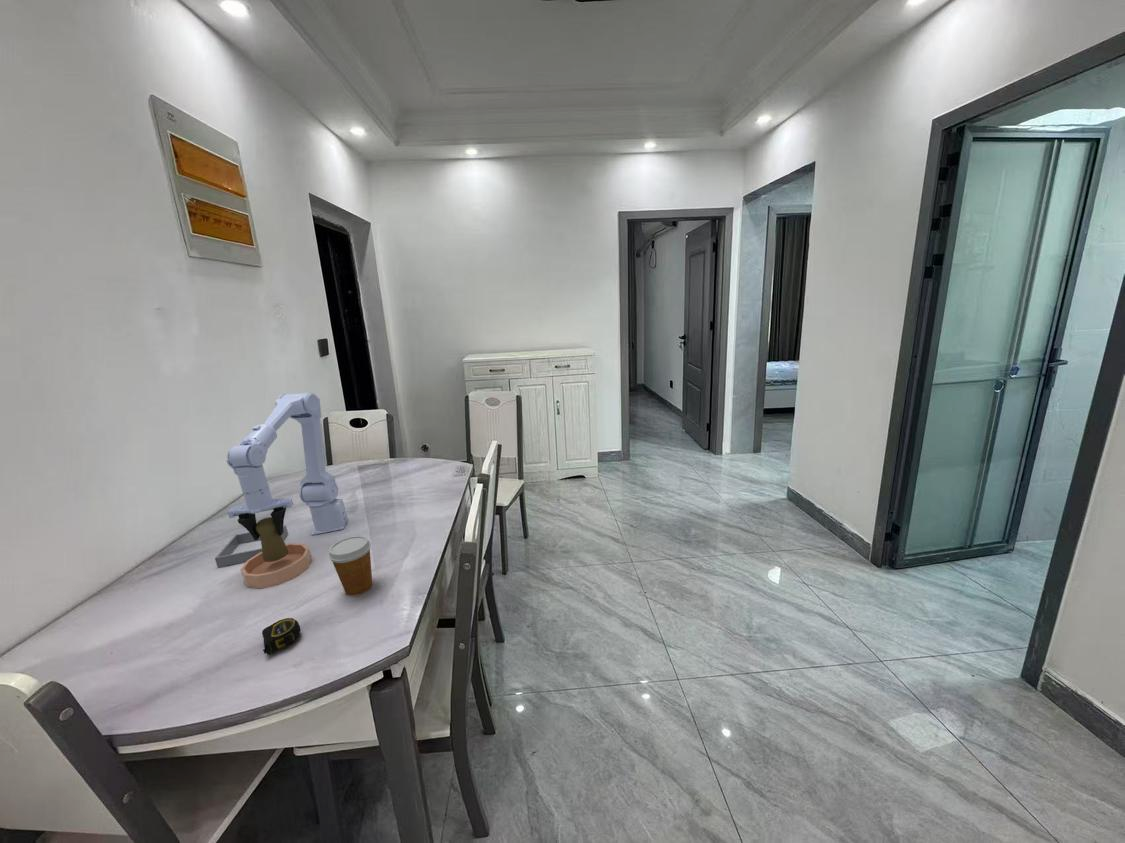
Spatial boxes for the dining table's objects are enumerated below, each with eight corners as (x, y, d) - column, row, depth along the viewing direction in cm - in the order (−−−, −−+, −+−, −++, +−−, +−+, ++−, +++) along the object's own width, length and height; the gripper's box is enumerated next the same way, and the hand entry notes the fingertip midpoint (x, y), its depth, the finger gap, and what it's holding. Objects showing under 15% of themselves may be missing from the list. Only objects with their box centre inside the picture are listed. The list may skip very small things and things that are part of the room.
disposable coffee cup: (338, 583, 116) (328, 541, 113) (378, 572, 119) (369, 531, 116) (337, 605, 107) (325, 560, 104) (380, 592, 111) (370, 548, 107)
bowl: (316, 549, 134) (314, 538, 133) (302, 579, 119) (299, 567, 118) (257, 561, 130) (254, 550, 129) (235, 593, 115) (231, 581, 114)
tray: (288, 533, 145) (285, 525, 144) (273, 556, 132) (271, 547, 131) (237, 543, 142) (235, 534, 141) (217, 567, 129) (214, 558, 128)
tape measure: (264, 640, 98) (260, 626, 97) (300, 626, 101) (296, 612, 100) (265, 660, 92) (260, 644, 91) (303, 643, 96) (299, 628, 95)
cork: (278, 562, 122) (268, 527, 118) (257, 561, 122) (246, 526, 119) (293, 548, 127) (284, 514, 123) (273, 547, 128) (263, 513, 124)
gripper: (217, 500, 113) (232, 549, 116) (281, 489, 116) (294, 537, 120) (228, 490, 119) (243, 536, 123) (290, 479, 123) (302, 525, 126)
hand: (269, 536), depth 122 cm, fingers closed on cork, 5 cm apart
